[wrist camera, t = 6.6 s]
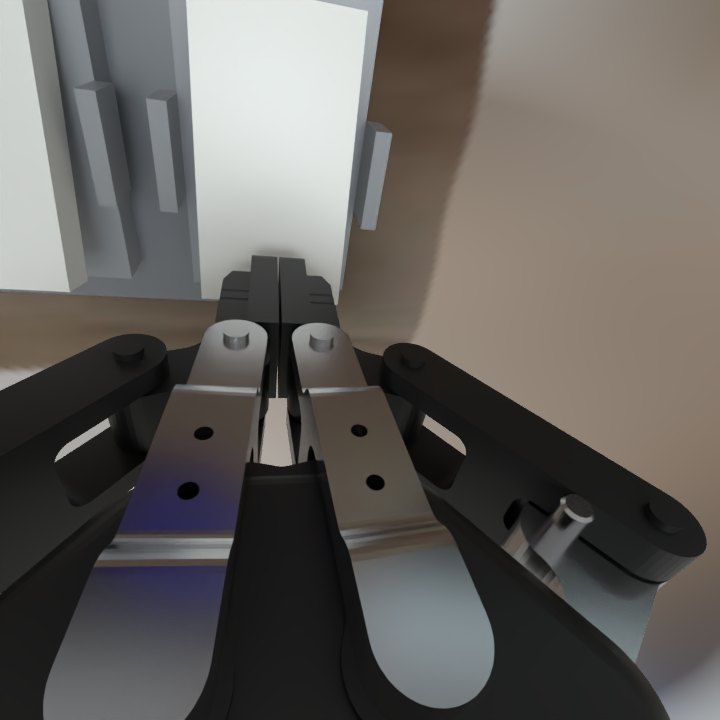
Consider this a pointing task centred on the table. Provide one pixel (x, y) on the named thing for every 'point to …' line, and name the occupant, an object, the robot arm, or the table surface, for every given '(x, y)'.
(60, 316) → the table surface
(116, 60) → the switch unit
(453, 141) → the table surface
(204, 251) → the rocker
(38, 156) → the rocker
